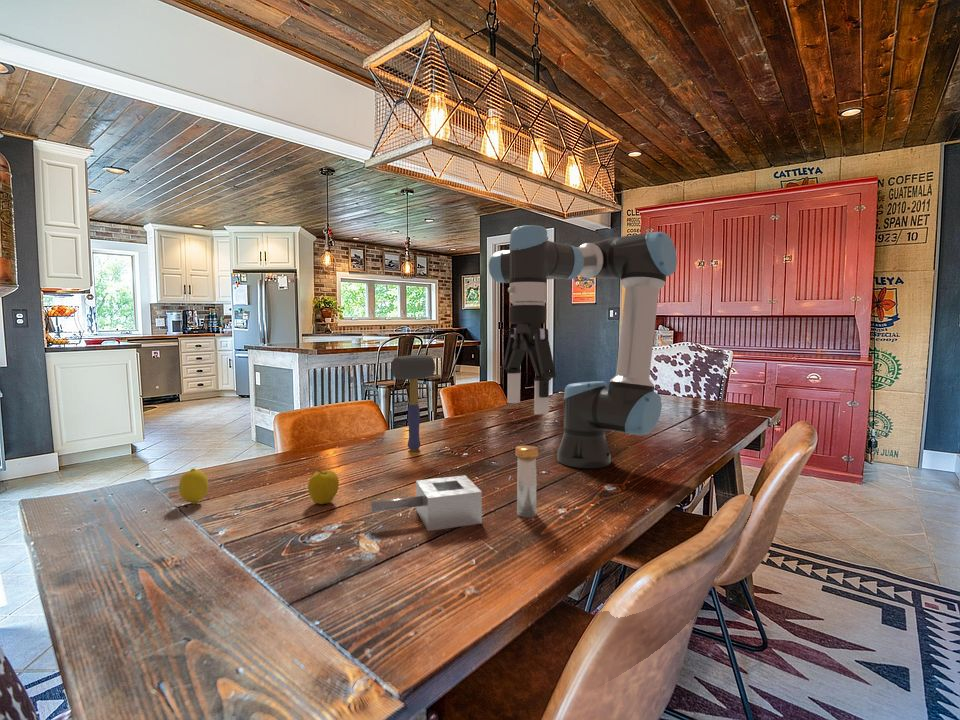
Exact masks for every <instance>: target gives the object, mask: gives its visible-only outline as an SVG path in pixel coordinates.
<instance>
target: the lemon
mask: <svg viewBox="0 0 960 720" xmlns="http://www.w3.org/2000/svg"><path fill="white" fill-rule="evenodd" d="M178 490H179V495H180V497H181V498H182V500H183V501H185V502H188V503H191V504H193V505H196V504H197V503H198V502H199V501H201V500H202V499H204V498H205V497H206V495H207V493H208V491H209V481H208V477H207V475H206V474H205V473H204V471H201V470H200V469H196V468H191V469H190V470H188V471H186V472H185V473H184V474H183V475H182V476H181V478H180V481H179V486H178Z"/></svg>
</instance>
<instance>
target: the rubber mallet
mask: <svg viewBox="0 0 960 720" xmlns="http://www.w3.org/2000/svg"><path fill="white" fill-rule="evenodd" d="M435 370H436V363H435V360H434V358H433V357H432V356H431V355H428V354H427V355H425V354H424V355H423V354H411V355H410V354H408V355H403V356H395V357H394V358H393V359H392V362H391V373H392V376H393V377H394V378H395V380H409V404H408V410H407V424H408V441H407V448H408V449H409V451H413V452H415V451H416V452H417V451H419V450H420V447H421V440H420V424H421V423H420V422H421V413H420V406H419V394H418V393H419V389H418V388H419V385H418V383H419V382H418V381H419V380H418V379H424V378H430V377H432V376H434V374H435Z"/></svg>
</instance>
